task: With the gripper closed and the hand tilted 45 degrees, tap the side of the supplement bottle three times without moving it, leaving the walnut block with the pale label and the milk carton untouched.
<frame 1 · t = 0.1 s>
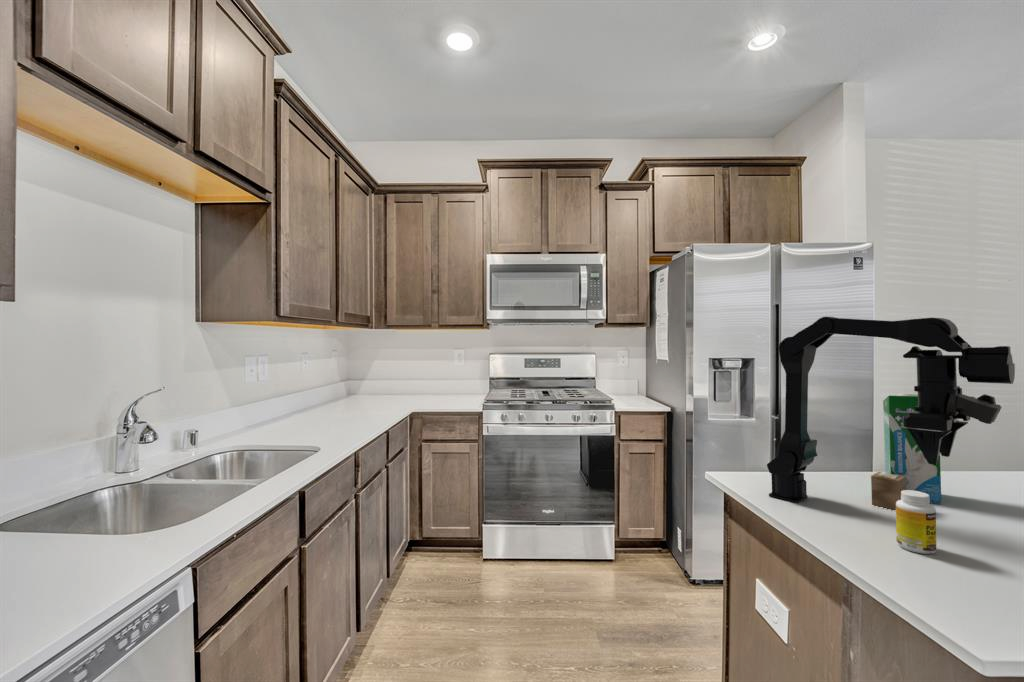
hand: (939, 460, 90), 15 cm above the counter, tool pointing down, fingers open, 9 cm apart
supplement bottle: (916, 549, 84), on the counter
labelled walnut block: (889, 506, 105), on the counter
milk carton: (912, 496, 112), on the counter
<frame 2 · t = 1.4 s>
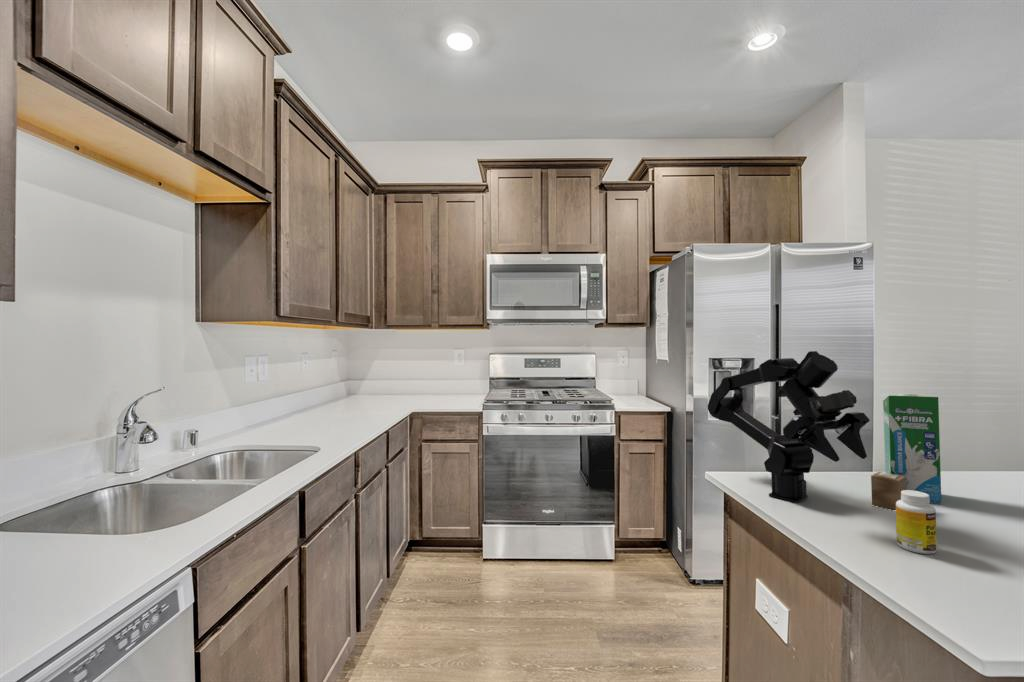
hand: (851, 459, 96), 13 cm above the counter, tool tilted 45°, fingers open, 7 cm apart
nothing on the counter moved.
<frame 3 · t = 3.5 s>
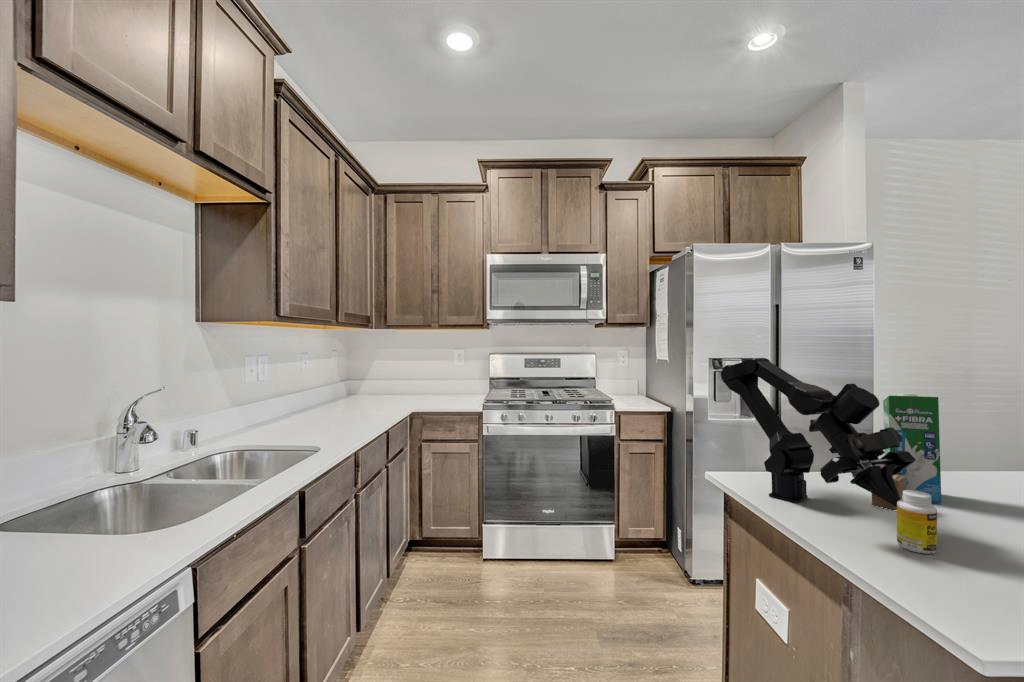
hand: (899, 505, 87), 7 cm above the counter, tool tilted 45°, fingers closed, pressing on supplement bottle
supplement bottle: (916, 548, 84), on the counter, touching gripper
everything else where it was.
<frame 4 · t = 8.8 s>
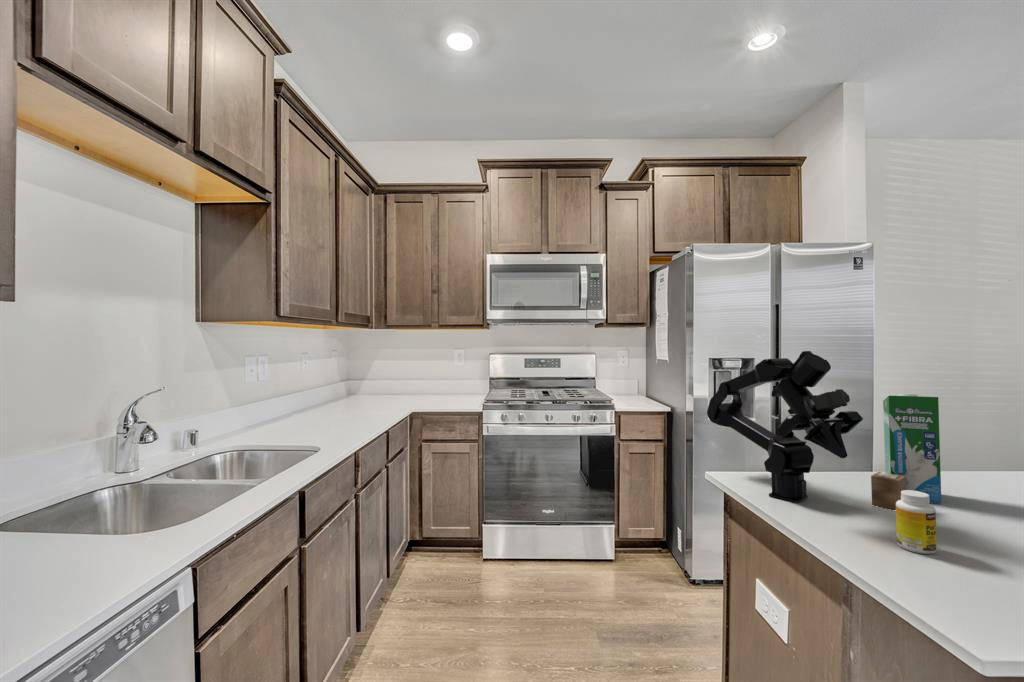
hand: (844, 457, 98), 14 cm above the counter, tool tilted 45°, fingers closed
supplement bottle: (916, 549, 84), on the counter
everything else where it was.
at the end: supplement bottle moved 0.2 cm from its start; supplement bottle tilted 0°; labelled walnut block moved 0.1 cm from its start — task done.
